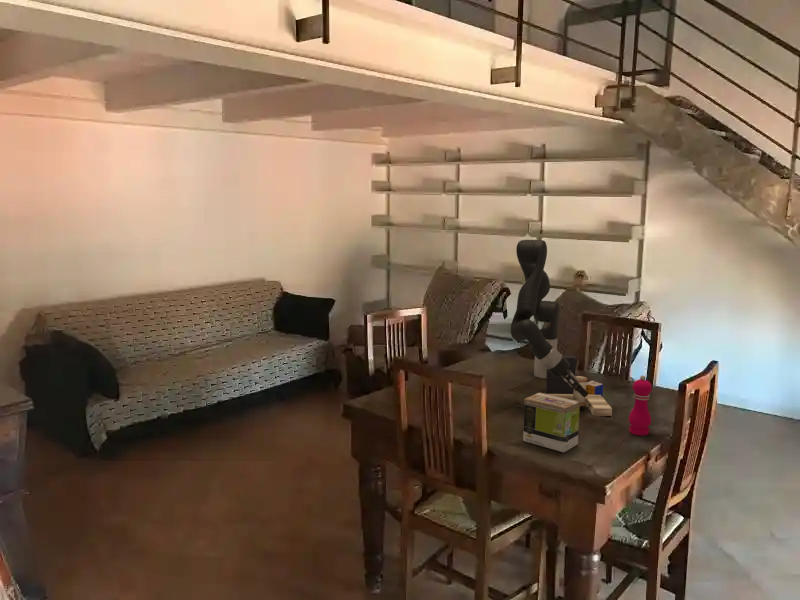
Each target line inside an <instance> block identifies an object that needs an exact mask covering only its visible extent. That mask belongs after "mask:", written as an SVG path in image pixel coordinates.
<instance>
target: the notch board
mask: <svg viewBox="0 0 800 600" xmlns="http://www.w3.org/2000/svg"><path fill="white" fill-rule="evenodd" d="M548 394H549V395H553V396H558V397H562V398H567V399H571V400H573V394H566V393H548ZM585 401H586V406H585V407H586V408H587V407H588V408H587V409H588V410H589V412H590V411H591V412H590V413H591V414H592V416H593V415H594V416H593V417H600V416H611V418H612V417H613V408H612V407H611V405H610V404H609V403H608V402H607V401H606V400H605V398H604V396H601V395H587V396H586V397H585Z"/></svg>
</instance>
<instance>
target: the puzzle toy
mask: <svg viewBox="0 0 800 600" xmlns="http://www.w3.org/2000/svg"><path fill="white" fill-rule="evenodd" d="M586 391H587V392H588V395H601V396H602V397H604V395H603V394H604V384H603V383H600V382H597V381H595V380H590V381H587V382H586Z"/></svg>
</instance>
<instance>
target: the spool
mask: <svg viewBox="0 0 800 600" xmlns="http://www.w3.org/2000/svg"><path fill="white" fill-rule="evenodd" d="M575 378H576V379H577V380H578V383H579V384H580V385H582V387H583V388H584V389H585V390H586V383H587V382H589V381H588V380H589V379H588V377H586V376H583V375H581V376H580V375H577V376H576V375H575ZM578 386H579V385H577V386H575V387H578ZM573 400H576V401H580V407H586V406H585V405H586V401H585V397H583V396H582V395H581V394H580V393H579V392H578V391H576V390H575V389H574V392H573Z"/></svg>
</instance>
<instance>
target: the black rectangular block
mask: <svg viewBox="0 0 800 600" xmlns="http://www.w3.org/2000/svg"><path fill="white" fill-rule="evenodd" d="M562 356H563V357H564V358H565V359H566V360H567V361H568V362H569V364H570V365H569V368H568V369H567V370H570V371H571V372H572V373H573V375H574V376H576V369H577V358H576V356H575V355H562ZM561 376H562V375H560V376H559V377H554V376H553V375H552V374H551V373H550V372H549V371H548V370H547V375H546V378H545V379H546V380H545V392H546V394H566V393H568V394H573V392H574V388H573V387H571V386H570V385H569V384H568V383H567V382H565V381H564V380H563V378H562V377H561Z"/></svg>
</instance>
